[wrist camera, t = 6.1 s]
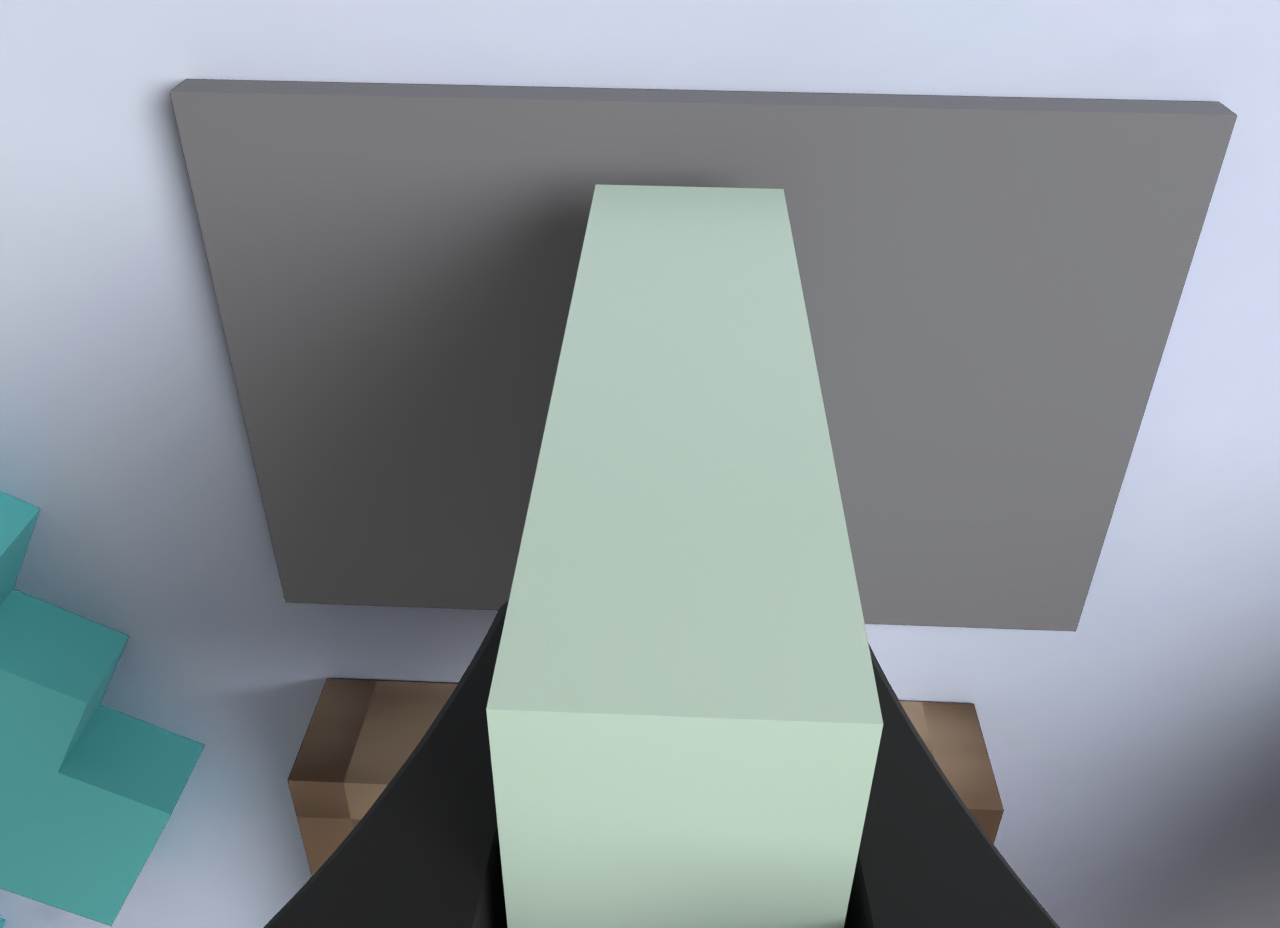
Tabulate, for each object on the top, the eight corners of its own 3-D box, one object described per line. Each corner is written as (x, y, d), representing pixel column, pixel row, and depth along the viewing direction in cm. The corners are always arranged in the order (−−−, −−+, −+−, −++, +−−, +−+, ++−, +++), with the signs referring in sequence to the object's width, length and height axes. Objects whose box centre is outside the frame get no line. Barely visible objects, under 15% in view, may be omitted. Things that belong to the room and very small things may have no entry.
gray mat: (1219, 102, 15) (1237, 115, 14) (1066, 608, 20) (1075, 631, 19) (187, 79, 15) (170, 91, 15) (295, 580, 20) (284, 602, 20)
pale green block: (784, 188, 14) (882, 723, 7) (743, 647, 19) (776, 1270, 11) (595, 184, 14) (486, 709, 7) (601, 642, 19) (540, 1260, 11)
